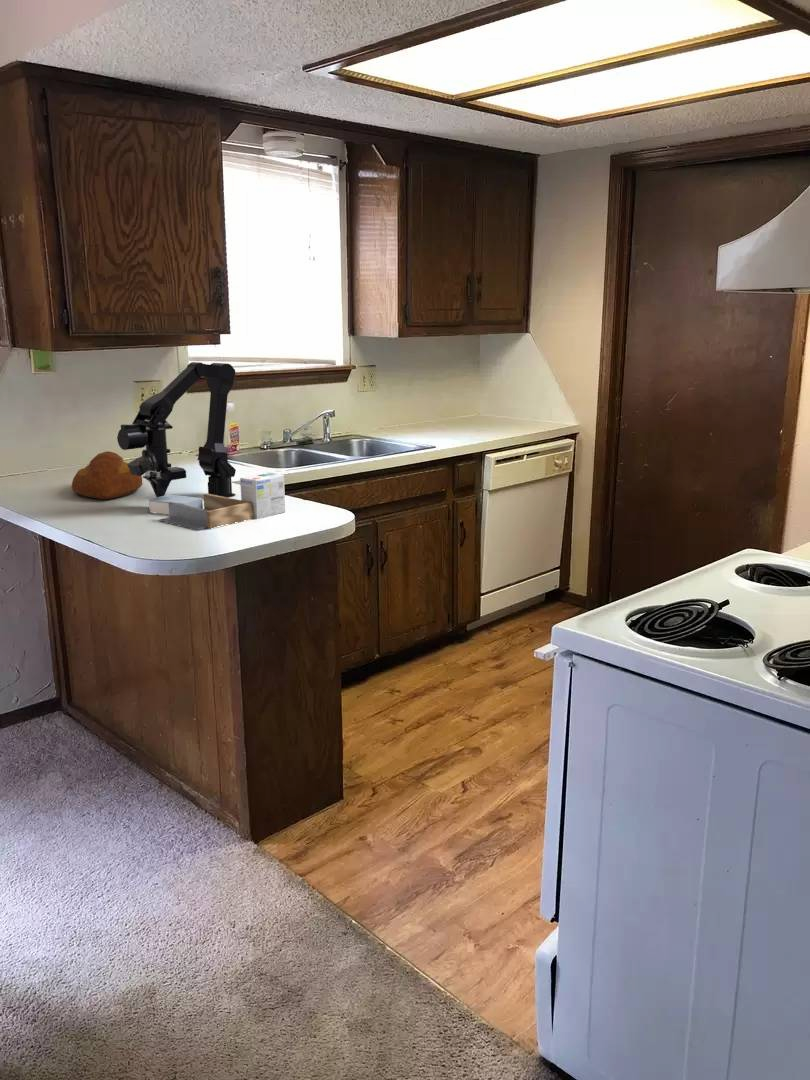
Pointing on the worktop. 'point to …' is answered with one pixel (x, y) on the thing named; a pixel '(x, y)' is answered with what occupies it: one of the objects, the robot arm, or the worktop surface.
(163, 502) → the boxed book
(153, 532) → the worktop surface
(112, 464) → the bread
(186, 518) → the grey angle iron
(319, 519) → the worktop surface
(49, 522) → the worktop surface
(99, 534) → the worktop surface
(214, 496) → the oak shelf corner
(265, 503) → the light bulb box
